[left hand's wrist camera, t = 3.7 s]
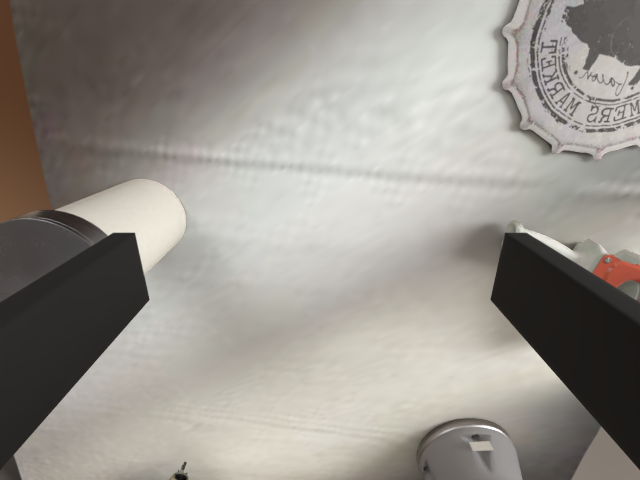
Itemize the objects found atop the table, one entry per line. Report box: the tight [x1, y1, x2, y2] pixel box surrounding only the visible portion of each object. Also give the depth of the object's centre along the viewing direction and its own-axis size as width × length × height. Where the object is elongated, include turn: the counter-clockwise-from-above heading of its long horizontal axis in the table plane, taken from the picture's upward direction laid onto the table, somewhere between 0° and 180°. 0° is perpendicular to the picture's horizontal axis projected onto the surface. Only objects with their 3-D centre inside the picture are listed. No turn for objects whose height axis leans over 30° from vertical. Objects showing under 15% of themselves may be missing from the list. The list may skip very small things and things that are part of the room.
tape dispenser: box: [501, 220, 640, 302], centre depth 41 cm, size 18×5×20 cm
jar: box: [56, 179, 186, 275], centre depth 34 cm, size 9×9×16 cm
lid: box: [0, 210, 108, 302], centre depth 27 cm, size 10×10×2 cm
